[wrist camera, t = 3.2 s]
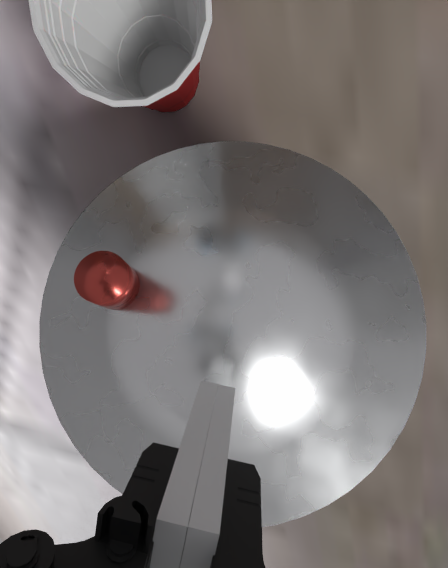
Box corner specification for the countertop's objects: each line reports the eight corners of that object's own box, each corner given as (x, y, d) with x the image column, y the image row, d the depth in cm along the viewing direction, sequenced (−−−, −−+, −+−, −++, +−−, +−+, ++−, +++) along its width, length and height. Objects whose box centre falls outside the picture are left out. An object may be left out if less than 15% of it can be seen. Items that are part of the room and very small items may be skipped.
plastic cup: (190, 165, 31) (152, 141, 20) (94, 103, 31) (-2, 40, 19) (251, 55, 29) (249, -47, 17) (147, -15, 28) (73, -169, 17)
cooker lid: (111, 131, 20) (88, 85, 16) (422, 190, 19) (466, 154, 16) (-27, 555, 15) (-101, 614, 12) (381, 659, 14) (432, 755, 11)
